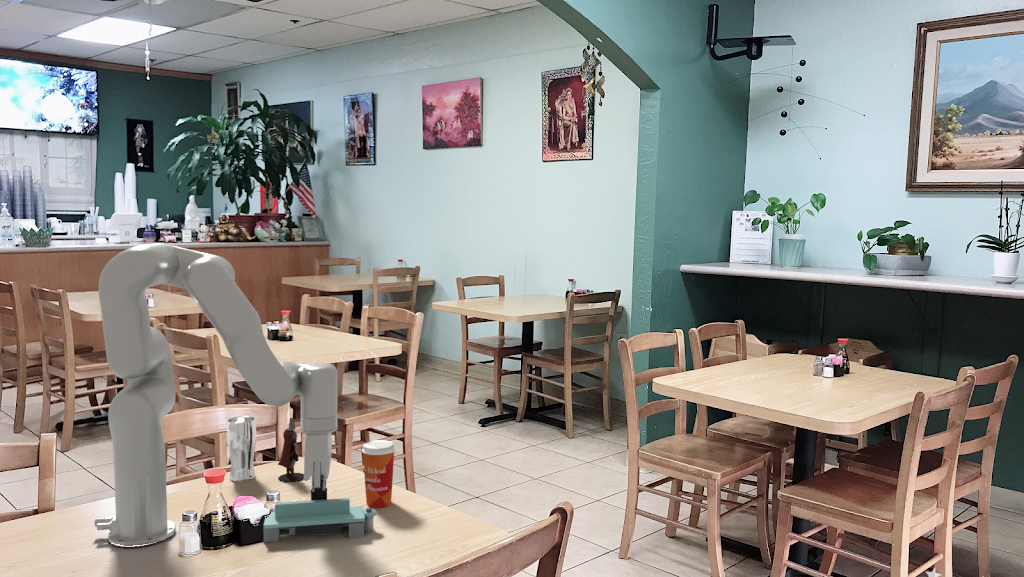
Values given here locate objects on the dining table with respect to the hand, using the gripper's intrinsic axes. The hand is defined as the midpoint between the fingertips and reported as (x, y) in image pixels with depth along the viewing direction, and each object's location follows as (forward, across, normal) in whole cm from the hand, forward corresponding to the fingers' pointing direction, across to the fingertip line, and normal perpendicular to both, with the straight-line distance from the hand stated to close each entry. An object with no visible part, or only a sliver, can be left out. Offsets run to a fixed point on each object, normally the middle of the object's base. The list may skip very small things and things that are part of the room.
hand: (319, 507), depth 166 cm
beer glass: (+5, -35, -21) cm, 41 cm away
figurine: (+5, -33, -9) cm, 35 cm away
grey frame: (+5, +2, 0) cm, 5 cm away
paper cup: (+5, -13, +12) cm, 18 cm away
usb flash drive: (+5, +2, 0) cm, 5 cm away
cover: (+1, +3, +1) cm, 3 cm away
